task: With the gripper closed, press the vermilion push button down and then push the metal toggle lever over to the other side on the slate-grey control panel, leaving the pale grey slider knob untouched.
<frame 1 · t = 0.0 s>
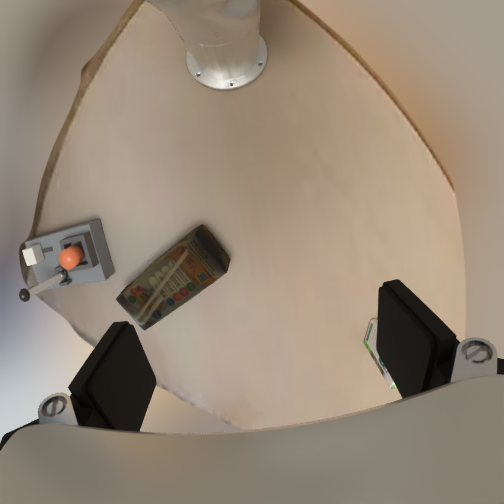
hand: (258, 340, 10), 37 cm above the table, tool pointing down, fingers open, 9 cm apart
panel: (72, 253, 48), on the table
slider: (33, 254, 42), point 6 cm above the table, slide at 0.0 cm
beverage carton: (175, 272, 49), on the table
lever: (42, 285, 40), point 9 cm above the table, hinge at 30.0°
button: (71, 257, 40), point 8 cm above the table, slide at 0.0 cm
syrup box: (379, 329, 53), on the table
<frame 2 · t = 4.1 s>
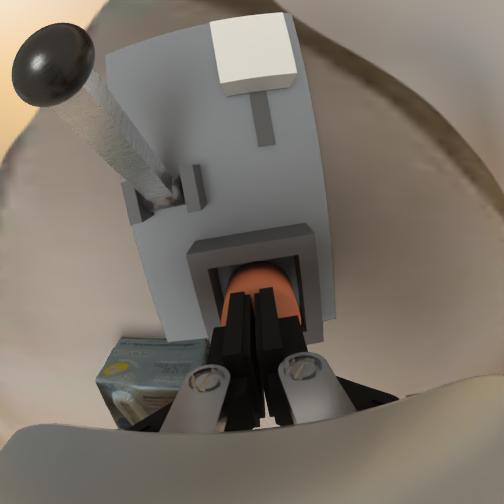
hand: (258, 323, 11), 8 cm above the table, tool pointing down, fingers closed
panel: (226, 176, 17), on the table
slider: (252, 54, 10), point 6 cm above the table, slide at 0.0 cm
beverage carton: (186, 412, 24), on the table
lever: (119, 143, 8), point 9 cm above the table, hinge at 30.0°
button: (260, 306, 13), point 7 cm above the table, slide at 1.0 cm
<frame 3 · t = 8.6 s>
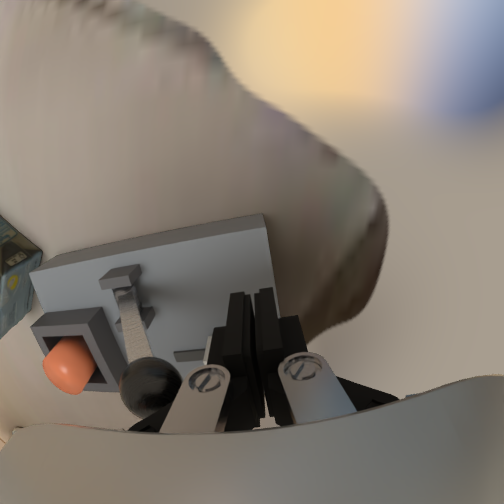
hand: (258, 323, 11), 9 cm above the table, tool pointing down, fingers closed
panel: (161, 299, 21), on the table
slider: (236, 364, 16), point 6 cm above the table, slide at 0.0 cm
lever: (135, 334, 12), point 9 cm above the table, hinge at 27.3°, touching gripper
button: (71, 362, 16), point 6 cm above the table, slide at 1.1 cm
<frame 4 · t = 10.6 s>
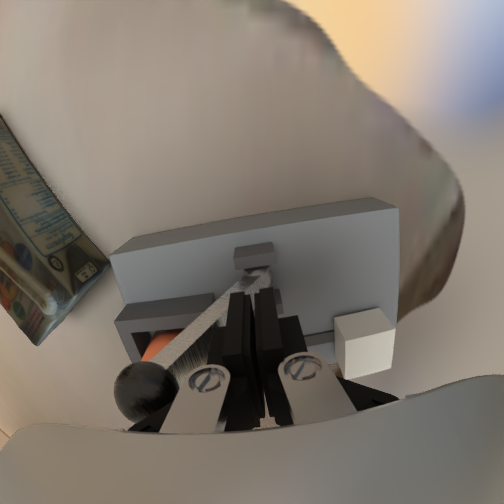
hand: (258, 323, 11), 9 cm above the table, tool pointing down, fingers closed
panel: (262, 284, 21), on the table
slider: (363, 343, 16), point 6 cm above the table, slide at 0.0 cm
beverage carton: (26, 209, 19), on the table
lever: (213, 328, 11), point 9 cm above the table, hinge at -26.3°, touching gripper
button: (172, 361, 15), point 6 cm above the table, slide at 1.1 cm
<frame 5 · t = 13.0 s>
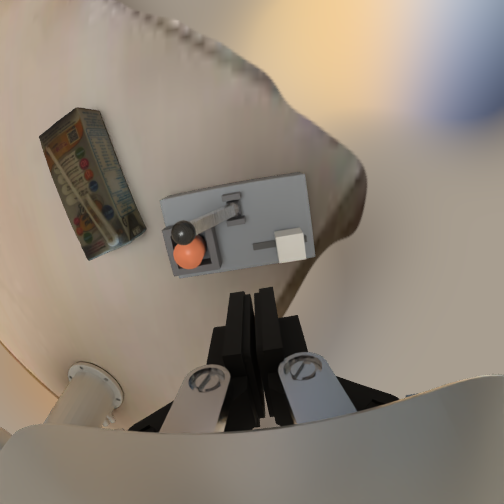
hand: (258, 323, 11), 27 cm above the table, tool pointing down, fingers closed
panel: (239, 220, 38), on the table
slider: (289, 245, 33), point 6 cm above the table, slide at 0.0 cm
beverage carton: (101, 179, 36), on the table
lever: (210, 219, 29), point 9 cm above the table, hinge at -28.0°
button: (190, 250, 32), point 6 cm above the table, slide at 1.1 cm
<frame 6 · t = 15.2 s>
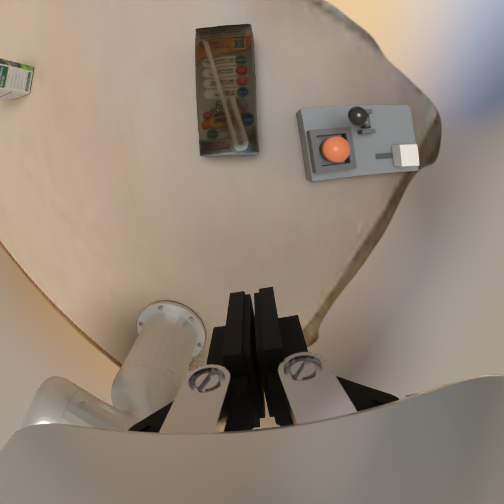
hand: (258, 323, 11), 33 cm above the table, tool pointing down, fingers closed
panel: (355, 140, 40), on the table
slider: (405, 155, 35), point 6 cm above the table, slide at 0.0 cm
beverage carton: (229, 94, 38), on the table
lever: (361, 119, 31), point 9 cm above the table, hinge at -28.0°
button: (334, 149, 34), point 6 cm above the table, slide at 1.1 cm
syrup box: (23, 84, 35), on the table
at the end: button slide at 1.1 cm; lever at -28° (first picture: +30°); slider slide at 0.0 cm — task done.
